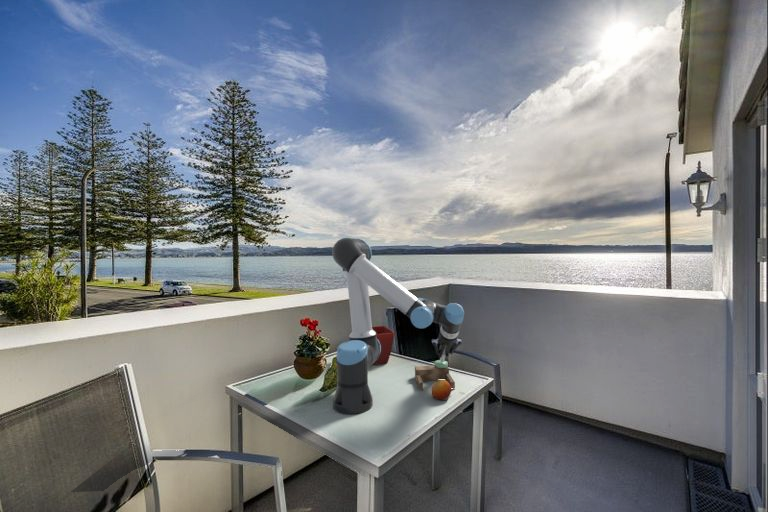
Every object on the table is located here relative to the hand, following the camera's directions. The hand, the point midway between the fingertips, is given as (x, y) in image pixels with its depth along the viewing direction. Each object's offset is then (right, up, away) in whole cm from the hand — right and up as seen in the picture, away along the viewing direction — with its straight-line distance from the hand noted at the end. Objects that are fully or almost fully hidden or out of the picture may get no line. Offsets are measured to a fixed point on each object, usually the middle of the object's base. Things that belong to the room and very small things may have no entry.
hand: (441, 359), depth 153 cm
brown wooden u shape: (-4, -9, -8) cm, 12 cm away
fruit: (-4, -9, -21) cm, 23 cm away
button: (0, -8, 0) cm, 8 cm away
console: (-5, -9, 0) cm, 10 cm away
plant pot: (-33, -9, +26) cm, 43 cm away
